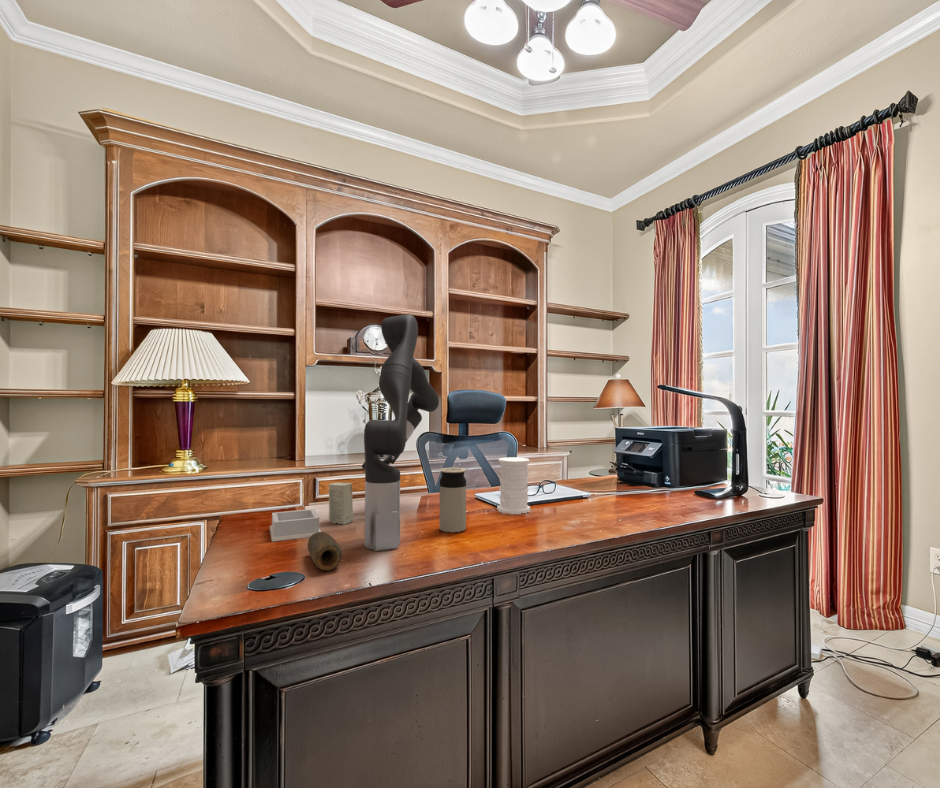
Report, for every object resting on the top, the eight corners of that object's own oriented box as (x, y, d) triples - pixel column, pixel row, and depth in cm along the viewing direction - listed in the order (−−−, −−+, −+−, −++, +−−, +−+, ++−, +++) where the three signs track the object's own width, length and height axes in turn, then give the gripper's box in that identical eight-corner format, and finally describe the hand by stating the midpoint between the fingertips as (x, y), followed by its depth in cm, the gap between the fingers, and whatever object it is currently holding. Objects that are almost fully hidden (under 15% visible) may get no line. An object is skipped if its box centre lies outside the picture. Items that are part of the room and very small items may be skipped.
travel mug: (462, 534, 134) (463, 471, 134) (436, 532, 136) (436, 470, 136) (468, 526, 142) (468, 467, 142) (443, 525, 144) (443, 466, 144)
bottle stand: (321, 535, 132) (321, 518, 132) (271, 541, 126) (272, 523, 126) (315, 524, 143) (315, 508, 144) (269, 529, 138) (270, 512, 138)
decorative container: (509, 516, 155) (509, 462, 155) (491, 508, 165) (491, 458, 165) (537, 512, 161) (537, 460, 161) (517, 505, 171) (517, 456, 171)
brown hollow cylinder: (347, 570, 106) (347, 541, 106) (315, 576, 102) (316, 545, 102) (331, 551, 119) (331, 525, 119) (302, 556, 115) (303, 529, 115)
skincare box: (353, 521, 147) (353, 483, 147) (344, 525, 143) (344, 485, 143) (337, 519, 150) (337, 481, 150) (327, 522, 146) (328, 483, 146)
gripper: (380, 425, 166) (352, 460, 157) (405, 427, 156) (376, 465, 147) (392, 439, 169) (365, 474, 161) (417, 442, 159) (389, 479, 151)
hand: (370, 470), depth 154 cm, fingers open, 8 cm apart
